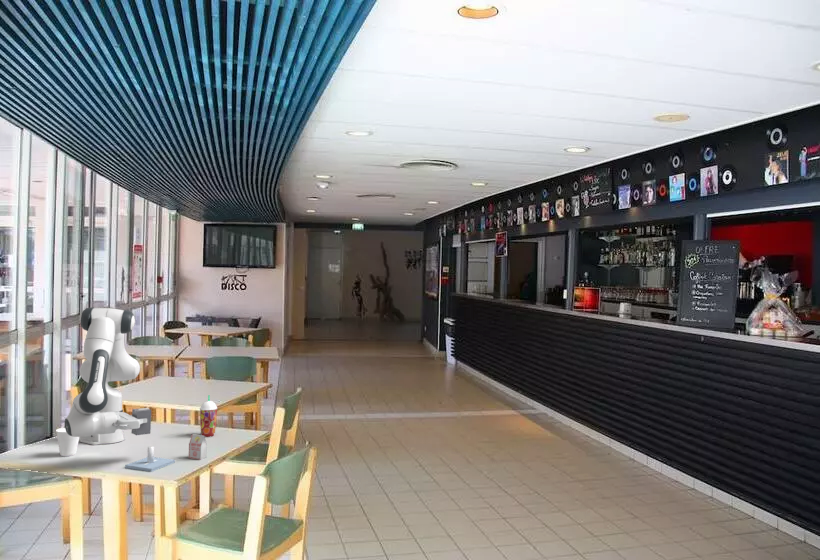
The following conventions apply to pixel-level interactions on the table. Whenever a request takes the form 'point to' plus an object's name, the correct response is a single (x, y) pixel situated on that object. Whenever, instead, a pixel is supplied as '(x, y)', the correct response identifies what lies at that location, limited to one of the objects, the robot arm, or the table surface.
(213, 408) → the smoothie
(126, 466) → the panel
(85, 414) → the robot arm
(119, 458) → the table surface
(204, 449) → the white paper bag
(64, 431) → the cup
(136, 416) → the tall gray block
